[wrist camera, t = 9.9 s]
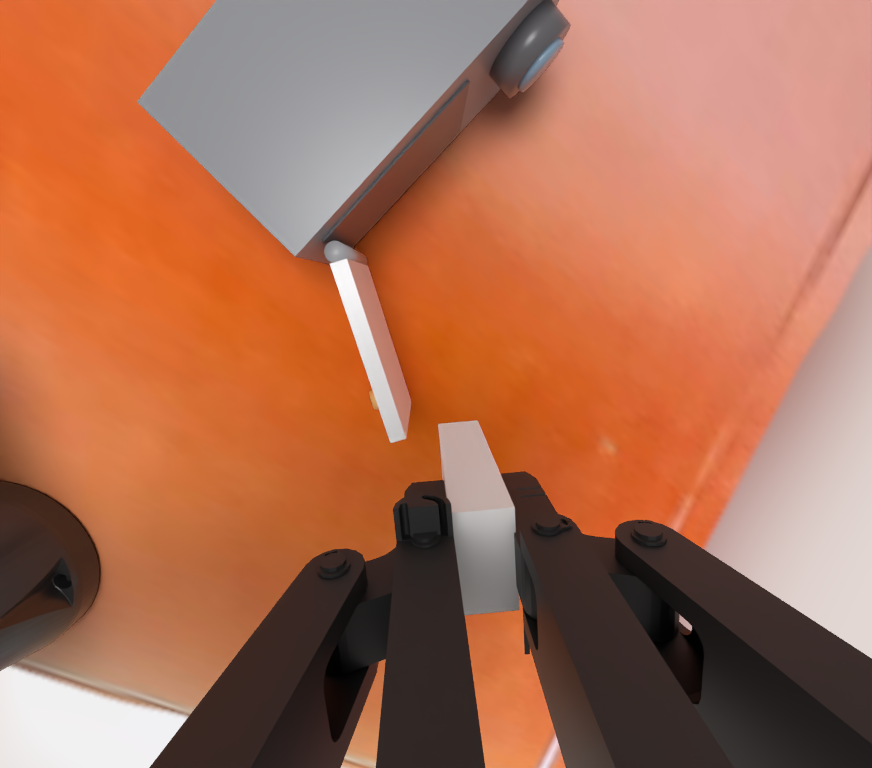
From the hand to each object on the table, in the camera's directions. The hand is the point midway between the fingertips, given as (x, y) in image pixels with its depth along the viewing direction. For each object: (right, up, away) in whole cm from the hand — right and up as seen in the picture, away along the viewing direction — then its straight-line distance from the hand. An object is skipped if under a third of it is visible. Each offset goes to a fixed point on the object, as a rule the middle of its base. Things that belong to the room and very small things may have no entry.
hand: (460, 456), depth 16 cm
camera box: (-5, +22, +13) cm, 26 cm away
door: (-5, +7, +17) cm, 19 cm away
